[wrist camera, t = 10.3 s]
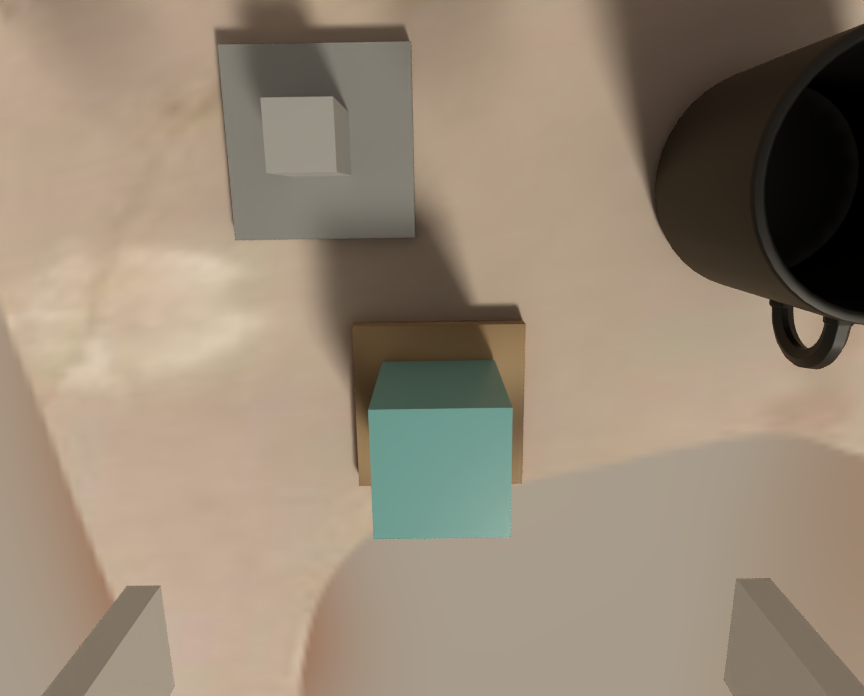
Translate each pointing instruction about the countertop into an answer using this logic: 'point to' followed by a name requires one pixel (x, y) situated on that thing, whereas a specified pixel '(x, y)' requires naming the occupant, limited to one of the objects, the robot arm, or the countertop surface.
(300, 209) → the grey post
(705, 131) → the mug
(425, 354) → the brown base with post
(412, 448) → the teal rectangular block
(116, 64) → the countertop surface
